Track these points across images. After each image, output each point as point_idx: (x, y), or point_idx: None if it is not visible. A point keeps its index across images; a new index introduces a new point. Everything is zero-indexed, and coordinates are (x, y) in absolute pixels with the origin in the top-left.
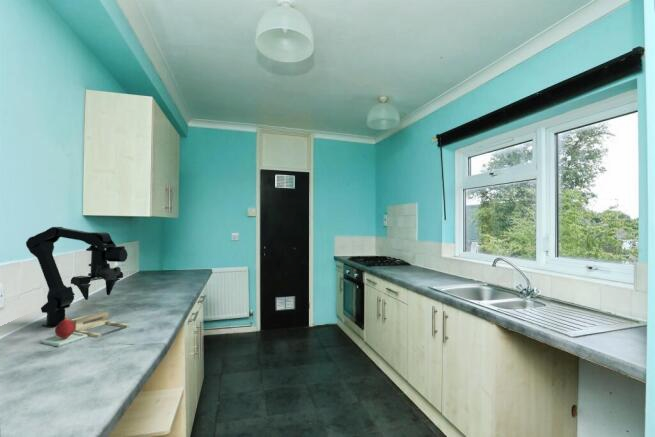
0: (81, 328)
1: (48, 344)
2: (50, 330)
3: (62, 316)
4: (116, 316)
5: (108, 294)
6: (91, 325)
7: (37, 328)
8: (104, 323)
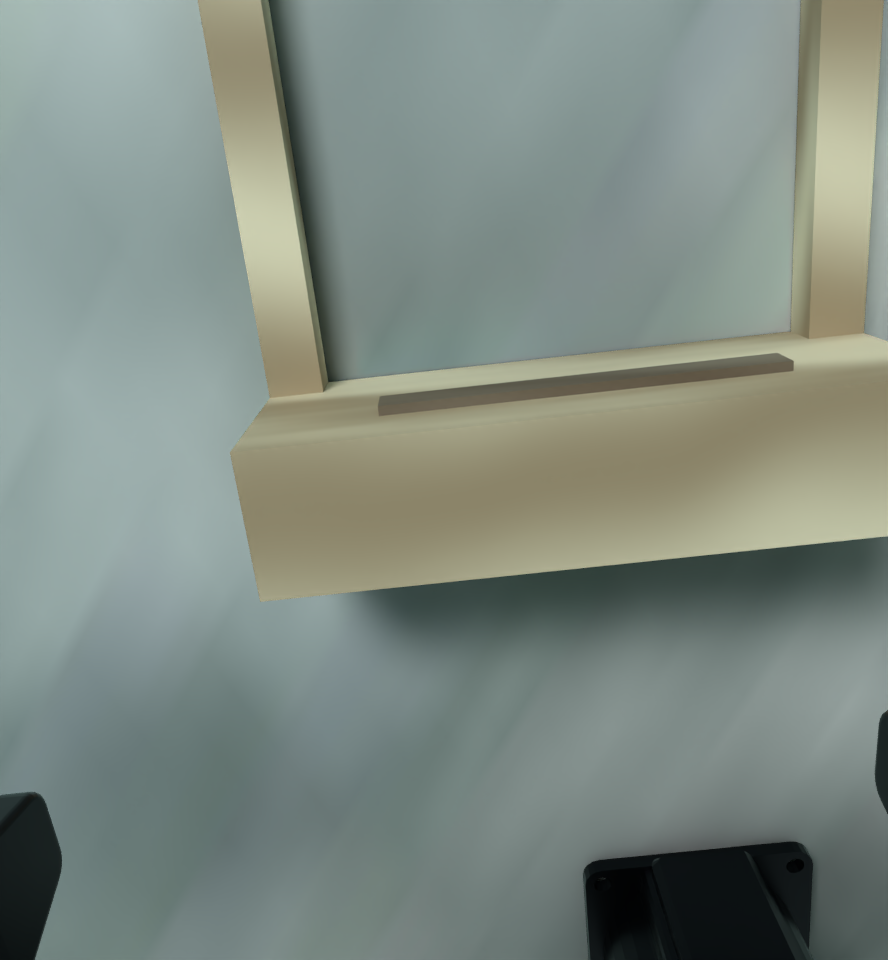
0: (773, 344)
1: None
2: None
3: (729, 945)
4: (3, 633)
5: (30, 817)
6: (591, 366)
7: (880, 940)
8: (347, 383)
